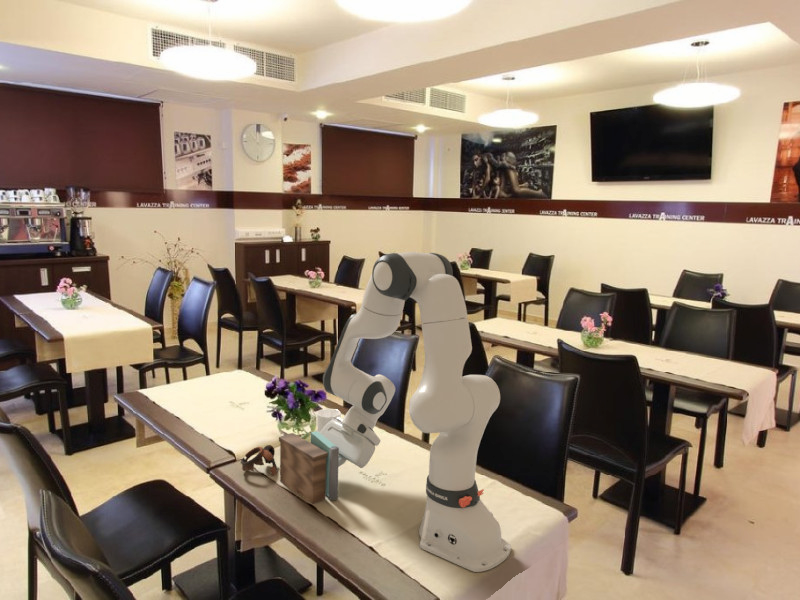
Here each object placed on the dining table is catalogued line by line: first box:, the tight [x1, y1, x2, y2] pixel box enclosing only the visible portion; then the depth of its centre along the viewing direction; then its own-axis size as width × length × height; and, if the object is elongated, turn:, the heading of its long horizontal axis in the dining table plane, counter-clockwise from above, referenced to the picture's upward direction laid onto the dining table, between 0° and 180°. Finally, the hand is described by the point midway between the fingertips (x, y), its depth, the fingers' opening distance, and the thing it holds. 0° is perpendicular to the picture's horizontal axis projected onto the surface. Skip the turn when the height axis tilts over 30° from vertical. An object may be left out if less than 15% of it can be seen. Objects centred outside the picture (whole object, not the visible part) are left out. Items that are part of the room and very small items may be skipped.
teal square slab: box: [310, 430, 339, 501], centre depth 152 cm, size 14×2×14 cm, turn 34°
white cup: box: [316, 408, 342, 432], centre depth 185 cm, size 8×8×10 cm
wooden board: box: [278, 432, 328, 504], centre depth 152 cm, size 17×5×13 cm, turn 44°
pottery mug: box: [240, 444, 278, 477], centre depth 163 cm, size 12×10×8 cm
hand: (328, 467), depth 155 cm, fingers closed
